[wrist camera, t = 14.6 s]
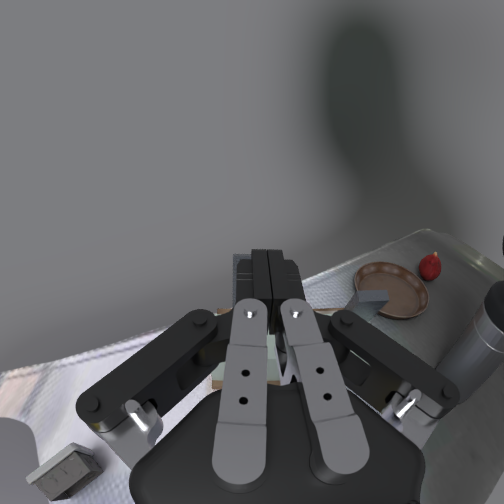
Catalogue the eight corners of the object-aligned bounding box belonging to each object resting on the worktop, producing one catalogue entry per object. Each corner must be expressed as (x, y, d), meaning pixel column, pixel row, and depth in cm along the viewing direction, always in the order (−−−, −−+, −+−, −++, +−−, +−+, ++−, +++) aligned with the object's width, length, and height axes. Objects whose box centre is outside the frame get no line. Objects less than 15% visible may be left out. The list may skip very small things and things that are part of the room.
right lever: (356, 325, 41) (388, 288, 31) (357, 334, 40) (391, 300, 30) (327, 326, 40) (354, 289, 31) (328, 336, 39) (357, 302, 30)
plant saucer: (388, 339, 47) (394, 328, 46) (335, 283, 60) (338, 272, 59) (437, 308, 54) (442, 298, 52) (387, 264, 67) (391, 254, 65)
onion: (438, 285, 60) (450, 259, 55) (422, 288, 59) (435, 261, 54) (426, 271, 64) (437, 245, 60) (410, 273, 64) (421, 246, 59)
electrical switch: (92, 449, 28) (64, 430, 22) (116, 475, 26) (91, 464, 20) (51, 481, 21) (16, 467, 16) (73, 509, 19) (40, 503, 13)
